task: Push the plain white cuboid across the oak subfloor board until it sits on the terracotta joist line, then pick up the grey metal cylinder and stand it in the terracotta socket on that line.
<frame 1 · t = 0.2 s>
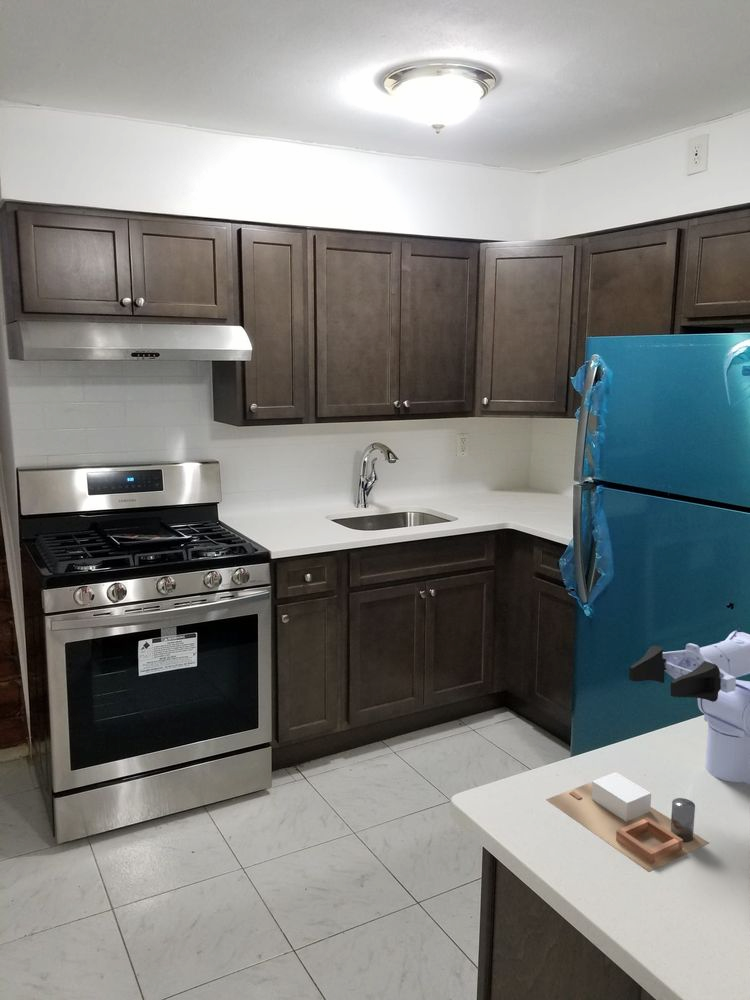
hand: (651, 681, 117), 21 cm above the countertop, fingers open, 7 cm apart
grey metal cylinder: (681, 836, 113), point 1 cm above the countertop, touching subfloor board
plain white cuboid: (620, 805, 120), point 1 cm above the countertop, touching subfloor board
subfloor board: (623, 826, 117), on the countertop
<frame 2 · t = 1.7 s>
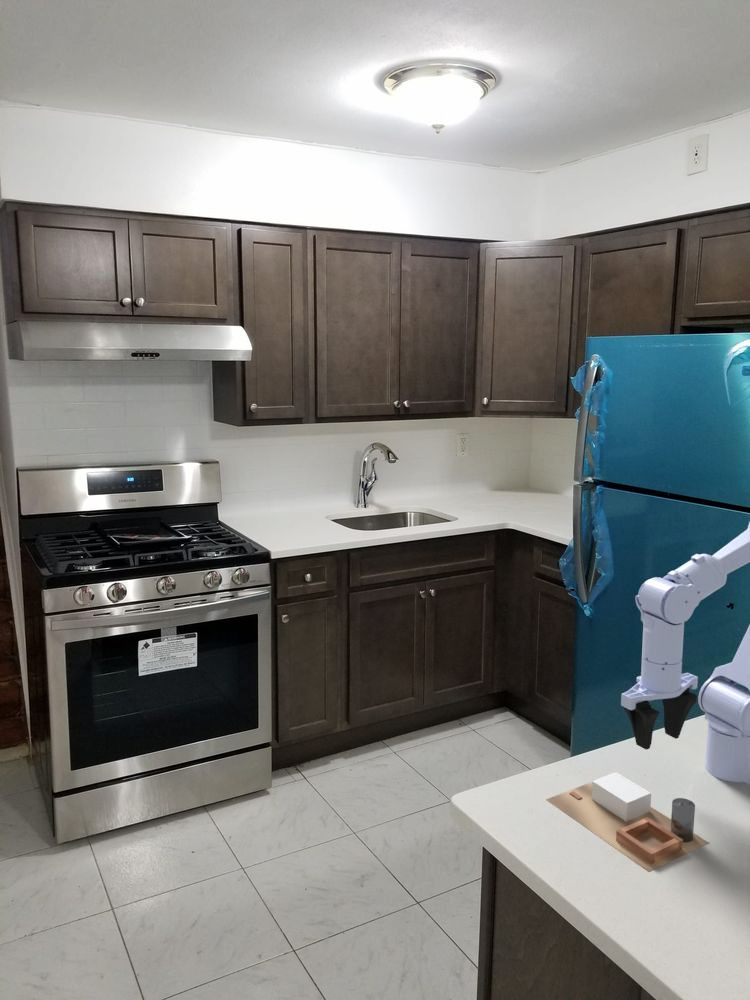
hand: (657, 741, 122), 9 cm above the countertop, fingers open, 6 cm apart
nothing on the countertop moved.
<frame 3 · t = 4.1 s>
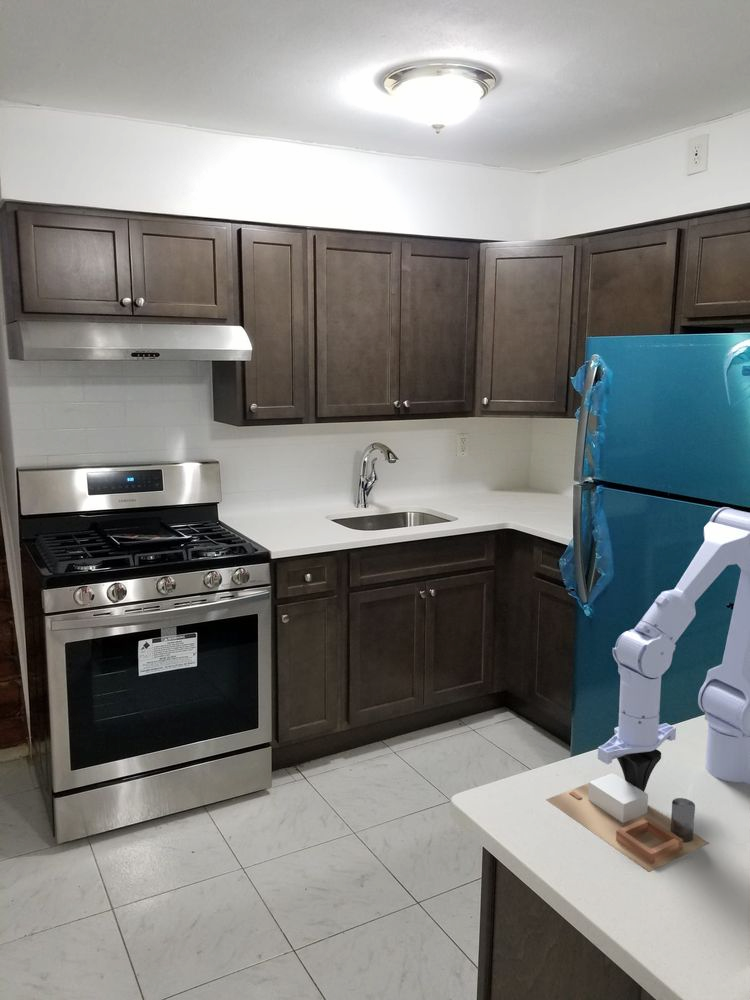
hand: (635, 792, 122), 2 cm above the countertop, fingers closed
plain white cuboid: (617, 806, 120), point 1 cm above the countertop
everything else where it was.
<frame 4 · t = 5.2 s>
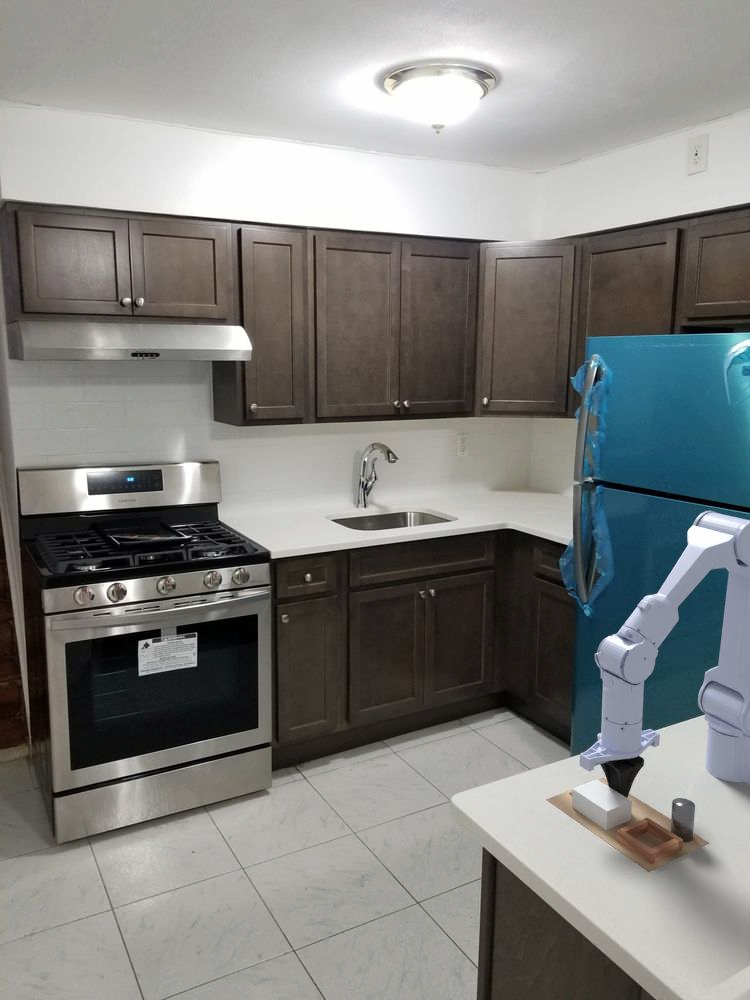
hand: (618, 799, 120), 2 cm above the countertop, fingers closed
plain white cuboid: (600, 813, 118), point 1 cm above the countertop, touching gripper, subfloor board
everything else where it was.
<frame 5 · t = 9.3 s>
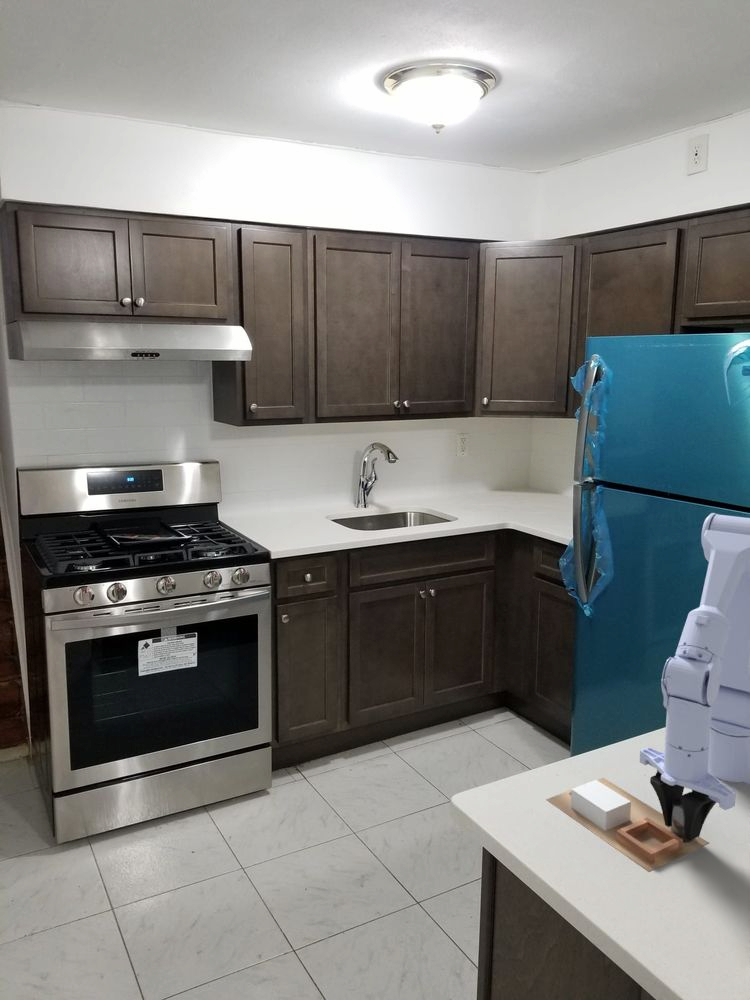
hand: (682, 830, 112), 2 cm above the countertop, fingers closed on grey metal cylinder, 3 cm apart
grey metal cylinder: (681, 836, 113), point 1 cm above the countertop, touching gripper, subfloor board
plain white cuboid: (600, 813, 118), point 1 cm above the countertop, touching subfloor board
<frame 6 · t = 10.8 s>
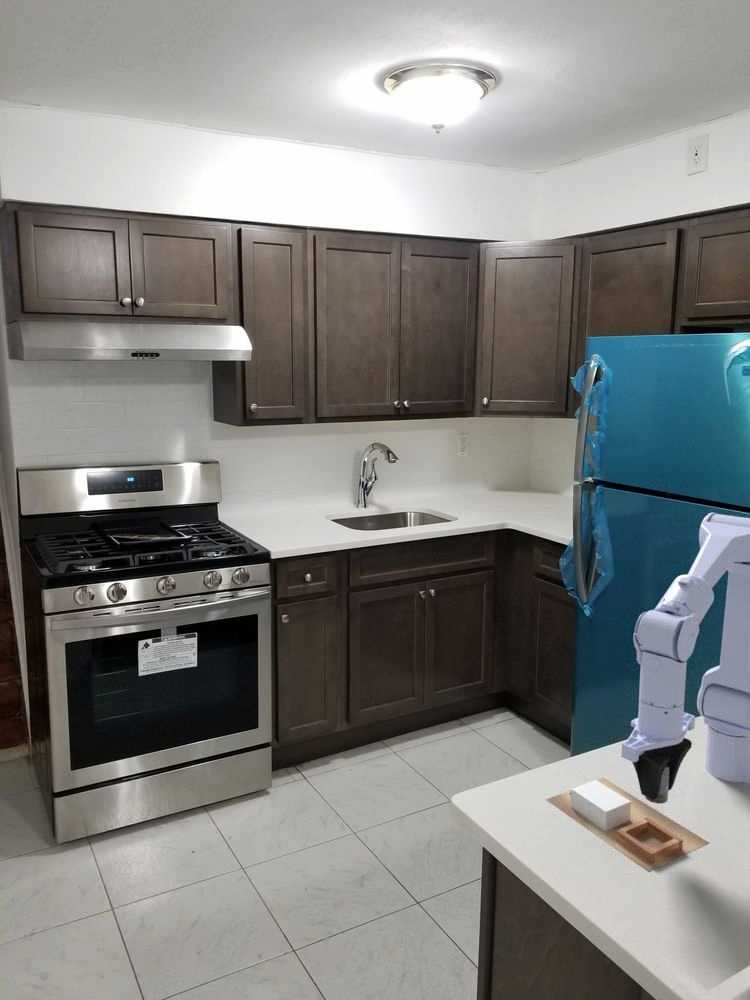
hand: (656, 791, 109), 9 cm above the countertop, fingers closed on grey metal cylinder, 3 cm apart
grey metal cylinder: (656, 797, 110), point 8 cm above the countertop, touching gripper
everything else where it was.
when the fingers open (4 cm above the countertop, at t = 12.5 s): grey metal cylinder drops 2 cm, resting on subfloor board.
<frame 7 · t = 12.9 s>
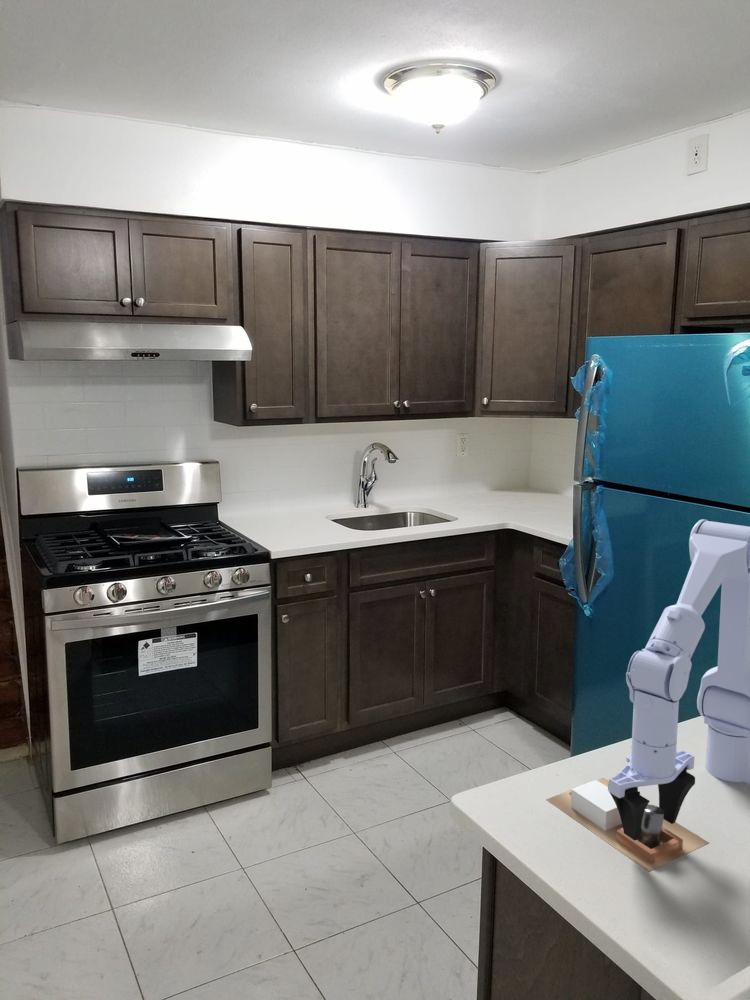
hand: (649, 827, 110), 4 cm above the countertop, fingers open, 7 cm apart
grey metal cylinder: (648, 843, 111), point 1 cm above the countertop, touching subfloor board
everything else where it was.
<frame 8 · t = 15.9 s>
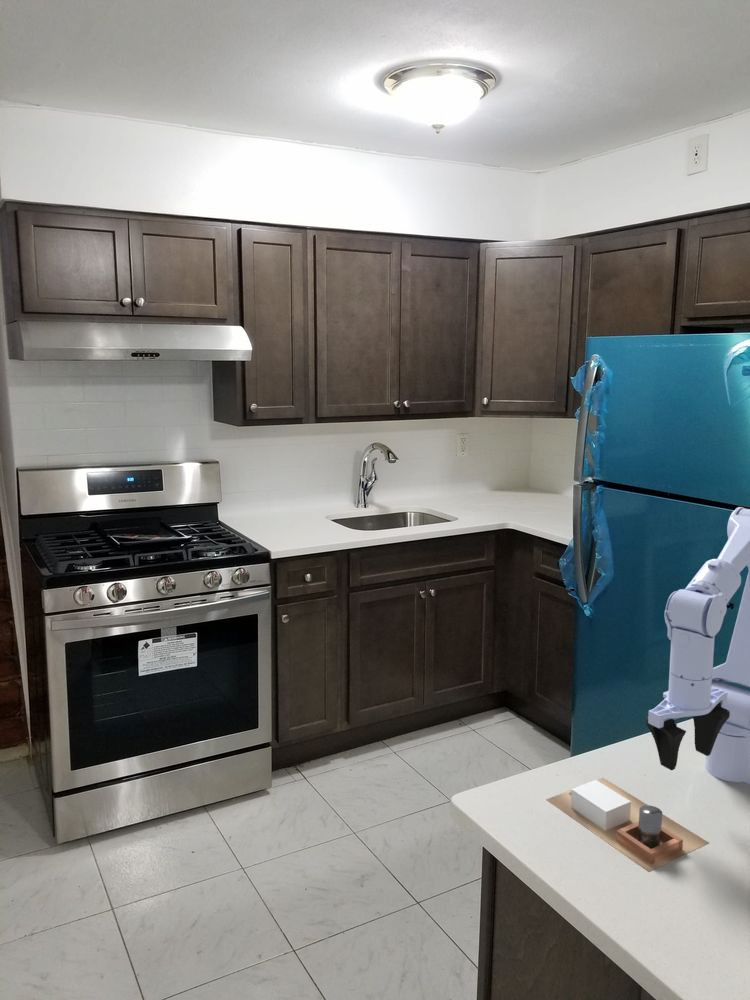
hand: (685, 759, 117), 9 cm above the countertop, fingers open, 7 cm apart
nothing on the countertop moved.
at the end: plain white cuboid 0.2 cm from the target spot, point 1.0 cm above the countertop; grey metal cylinder 0.1 cm from the target spot, point 1.0 cm above the countertop; grey metal cylinder tilted 1° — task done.
